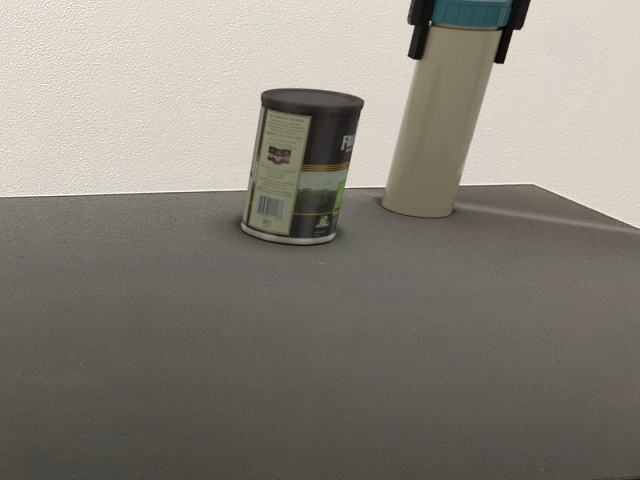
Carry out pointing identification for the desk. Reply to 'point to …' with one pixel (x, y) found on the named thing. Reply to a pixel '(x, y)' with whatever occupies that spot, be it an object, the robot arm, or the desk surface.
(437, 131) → the jar
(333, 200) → the coffee can
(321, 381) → the desk surface
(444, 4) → the lid
